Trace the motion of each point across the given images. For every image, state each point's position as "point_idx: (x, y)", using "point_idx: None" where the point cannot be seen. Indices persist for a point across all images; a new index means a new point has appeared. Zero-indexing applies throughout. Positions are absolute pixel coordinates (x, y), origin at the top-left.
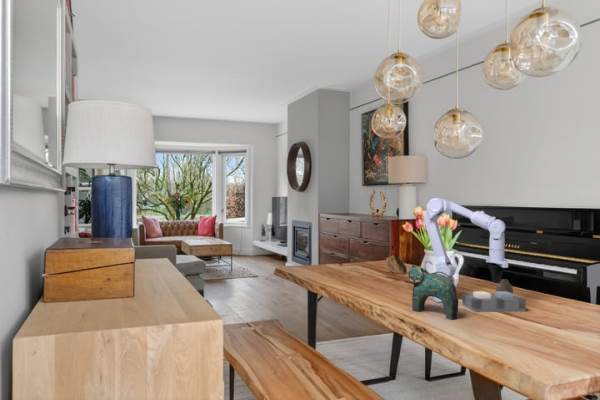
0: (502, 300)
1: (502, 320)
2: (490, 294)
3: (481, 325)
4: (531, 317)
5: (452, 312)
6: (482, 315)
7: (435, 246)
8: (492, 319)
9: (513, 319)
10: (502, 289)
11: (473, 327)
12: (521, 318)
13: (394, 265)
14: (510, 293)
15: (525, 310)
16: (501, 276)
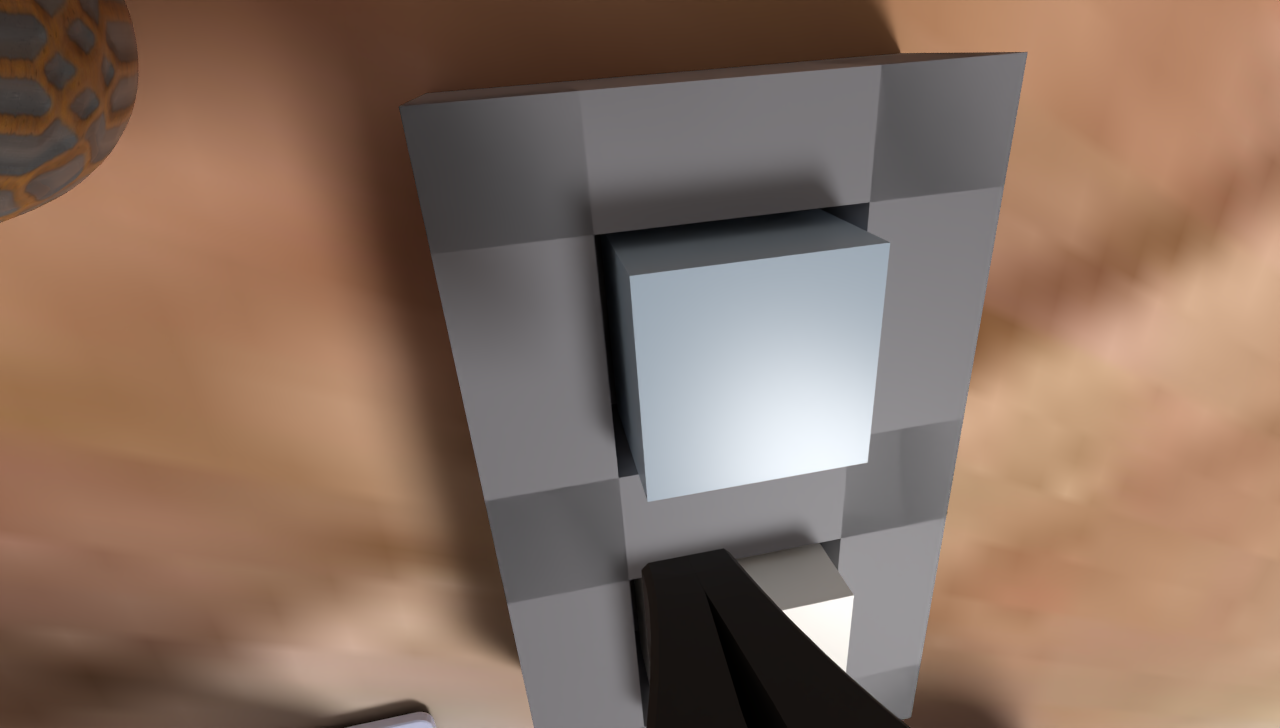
0: (956, 441)
1: (1140, 464)
2: (850, 598)
3: (1188, 626)
4: (1152, 125)
5: None
6: (963, 577)
7: None
8: (1090, 530)
9: (1148, 360)
10: (21, 149)
11: (1203, 671)
12: (1146, 266)
13: None
14: (842, 281)
15: (908, 53)
16: (838, 667)
